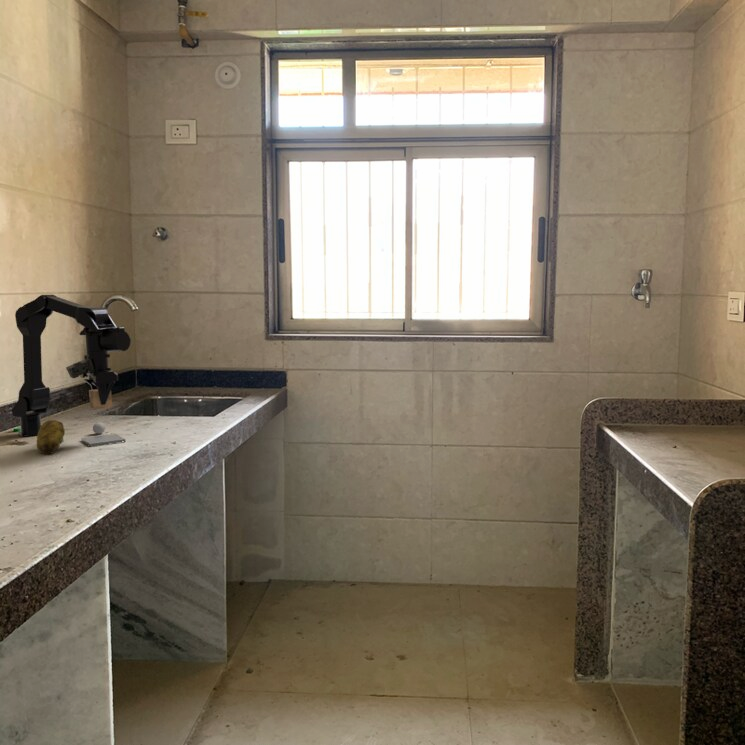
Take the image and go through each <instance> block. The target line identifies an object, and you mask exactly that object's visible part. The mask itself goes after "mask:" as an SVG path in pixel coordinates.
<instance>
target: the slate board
mask: <svg viewBox="0 0 745 745" xmlns="http://www.w3.org/2000/svg"><path fill="white" fill-rule="evenodd" d="M80 439H81V440H80V441H81V442H82V441H83V443H84V444H85V443H86V444H85V445H86V446H88V445H89V446H88V447H90V446H92V447H97V445H99V446H104V444H107V445H110V444H109V443H114V444H117V443H116V442H121V443H123V442H122V441H125V442H126V438H124V437H122V436H121V435H119V434H117V433H111V434H102V435H95V436H88V437H87V436H86V437H81V438H80Z"/></svg>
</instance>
